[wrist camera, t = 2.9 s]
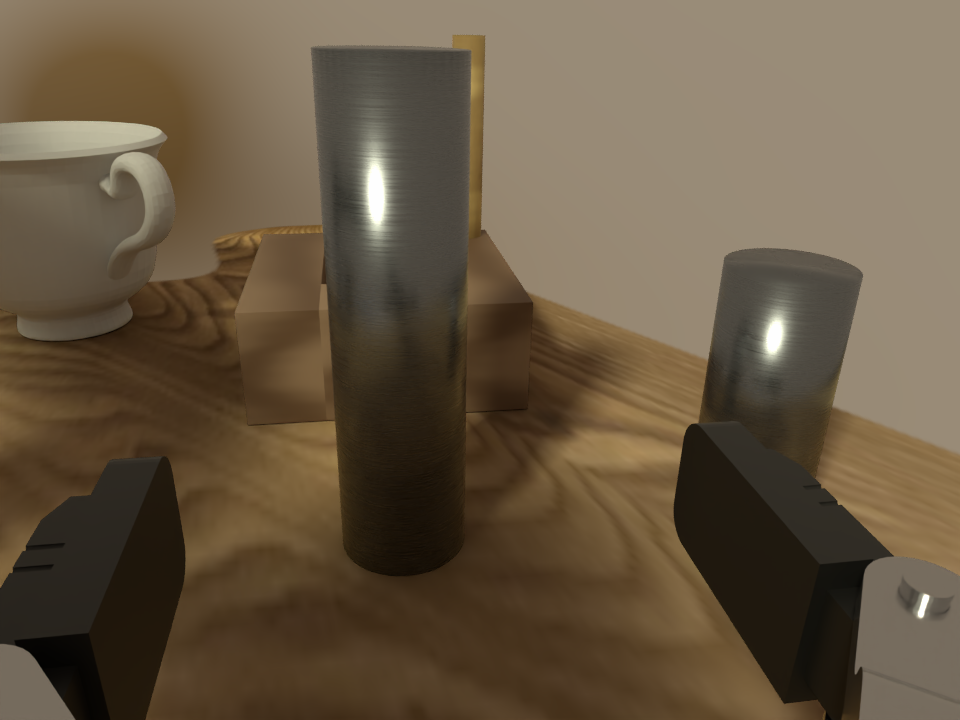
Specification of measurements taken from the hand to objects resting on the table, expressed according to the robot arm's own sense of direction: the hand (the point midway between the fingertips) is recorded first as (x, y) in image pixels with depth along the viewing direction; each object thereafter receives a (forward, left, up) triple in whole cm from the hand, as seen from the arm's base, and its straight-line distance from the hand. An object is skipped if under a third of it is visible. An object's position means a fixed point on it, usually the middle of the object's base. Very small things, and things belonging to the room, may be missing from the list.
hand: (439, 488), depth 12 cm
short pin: (+7, +15, -9) cm, 18 cm away
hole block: (-10, +23, -9) cm, 27 cm away
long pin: (-4, +10, -9) cm, 14 cm away
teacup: (-27, +22, -9) cm, 36 cm away
